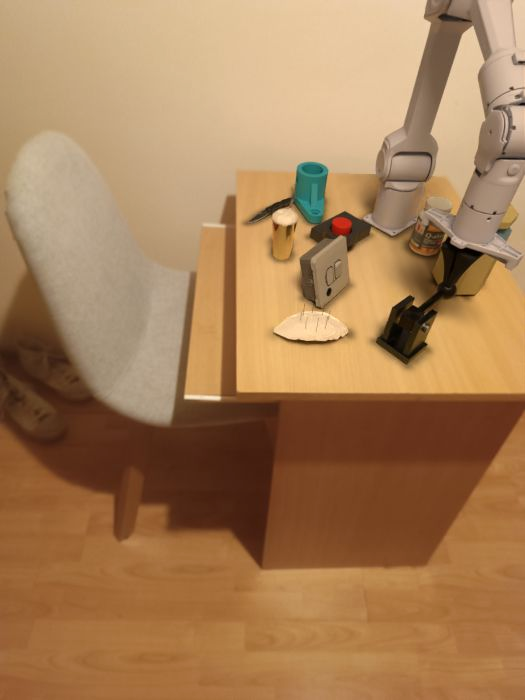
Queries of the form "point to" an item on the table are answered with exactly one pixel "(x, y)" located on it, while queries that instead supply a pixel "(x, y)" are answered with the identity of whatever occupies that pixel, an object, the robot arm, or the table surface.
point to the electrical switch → (325, 270)
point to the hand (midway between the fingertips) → (449, 283)
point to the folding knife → (271, 209)
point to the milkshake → (283, 232)
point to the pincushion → (311, 326)
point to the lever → (426, 306)
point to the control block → (356, 234)
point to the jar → (483, 266)
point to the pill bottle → (429, 228)
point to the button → (341, 226)
